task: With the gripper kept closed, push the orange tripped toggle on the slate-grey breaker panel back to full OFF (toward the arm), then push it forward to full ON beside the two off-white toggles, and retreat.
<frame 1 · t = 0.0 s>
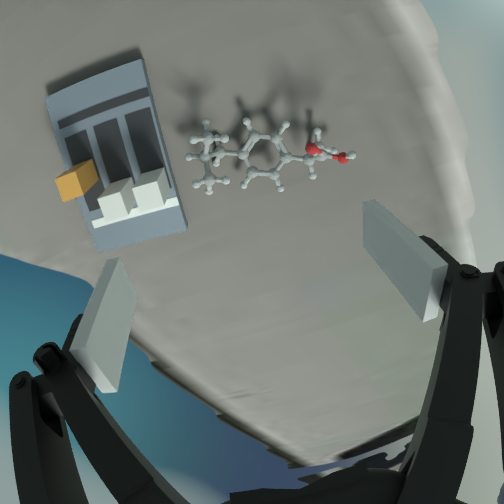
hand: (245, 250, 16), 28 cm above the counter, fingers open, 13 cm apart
tripped toggle: (77, 179, 34), point 5 cm above the counter, slide at 0.0 cm
breaker panel: (116, 159, 39), on the counter
molecular model: (259, 151, 42), on the counter
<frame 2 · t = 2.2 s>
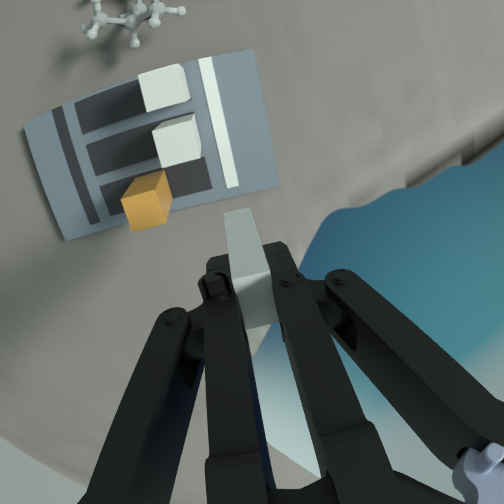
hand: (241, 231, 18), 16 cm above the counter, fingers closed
tripped toggle: (149, 198, 27), point 5 cm above the counter, slide at 0.0 cm
breaker panel: (146, 144, 30), on the counter
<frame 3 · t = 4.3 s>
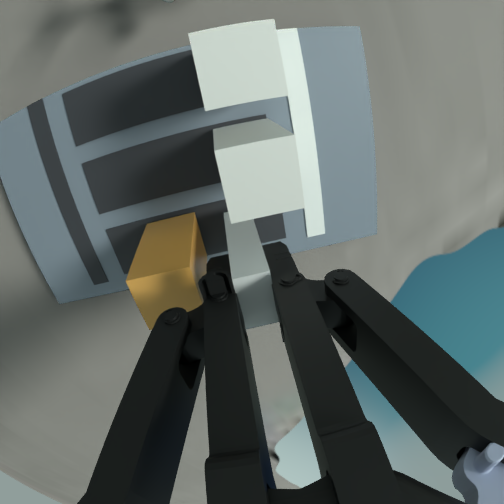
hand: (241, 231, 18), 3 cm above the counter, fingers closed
tripped toggle: (172, 265, 17), point 5 cm above the counter, slide at -1.1 cm, touching gripper
breaker panel: (180, 163, 19), on the counter
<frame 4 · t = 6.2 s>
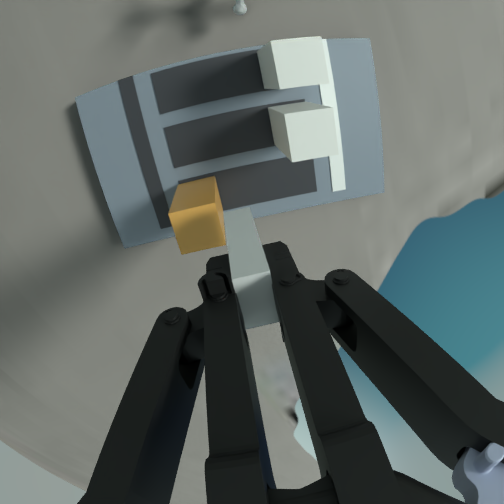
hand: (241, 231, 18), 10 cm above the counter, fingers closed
tripped toggle: (199, 211, 23), point 5 cm above the counter, slide at -4.0 cm
breaker panel: (238, 133, 25), on the counter
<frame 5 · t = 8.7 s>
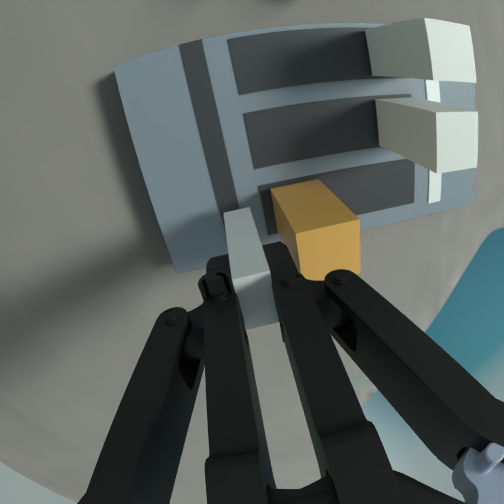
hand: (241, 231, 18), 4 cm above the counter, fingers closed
tripped toggle: (311, 226, 17), point 5 cm above the counter, slide at -3.4 cm, touching gripper
breaker panel: (328, 128, 20), on the counter
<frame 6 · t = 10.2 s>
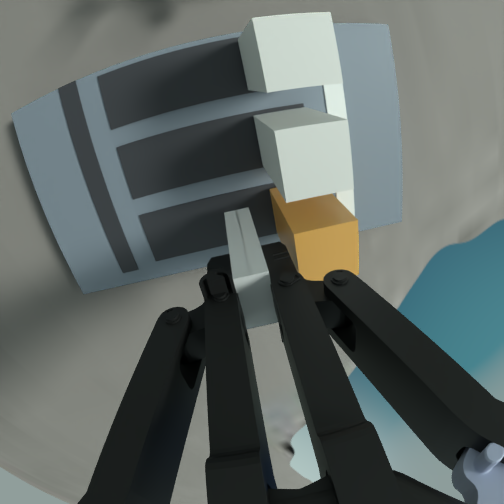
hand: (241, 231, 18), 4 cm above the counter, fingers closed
tripped toggle: (310, 227, 17), point 5 cm above the counter, slide at 4.1 cm, touching gripper
breaker panel: (215, 150, 20), on the counter
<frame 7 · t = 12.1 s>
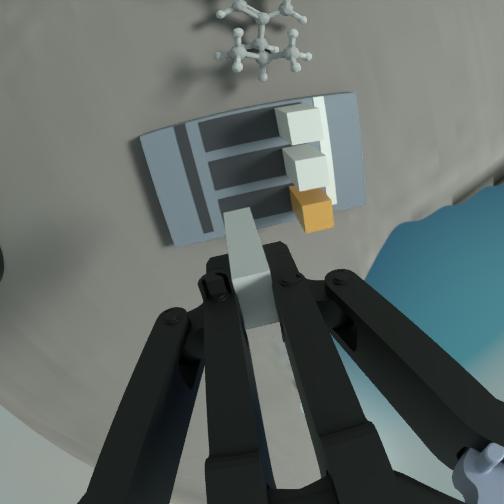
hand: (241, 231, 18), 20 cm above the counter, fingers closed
tripped toggle: (310, 205, 34), point 5 cm above the counter, slide at 4.0 cm
breaker panel: (259, 164, 36), on the counter
molecular model: (261, 3, 27), on the counter
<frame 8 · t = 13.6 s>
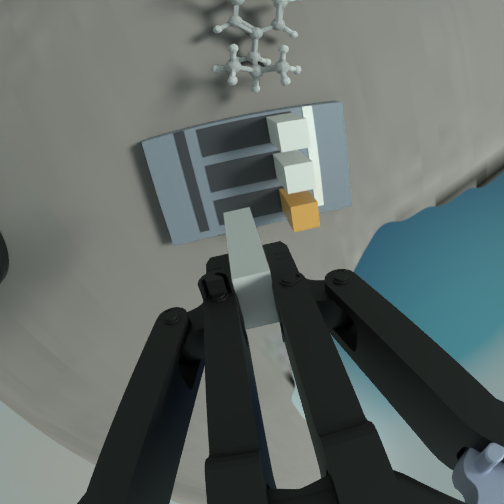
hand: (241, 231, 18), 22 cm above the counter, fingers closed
tripped toggle: (298, 206, 37), point 5 cm above the counter, slide at 4.0 cm
breaker panel: (252, 168, 39), on the counter
molecular model: (255, 18, 30), on the counter
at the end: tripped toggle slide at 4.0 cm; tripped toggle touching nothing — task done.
